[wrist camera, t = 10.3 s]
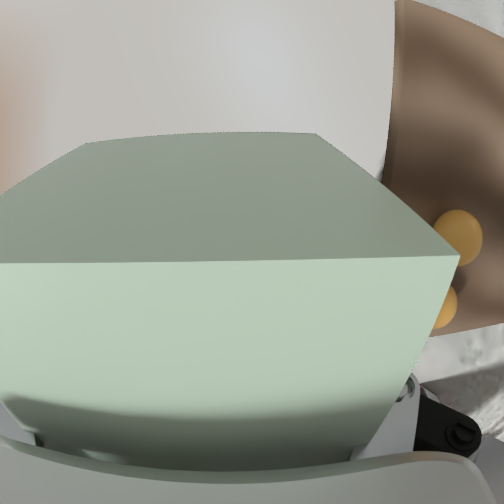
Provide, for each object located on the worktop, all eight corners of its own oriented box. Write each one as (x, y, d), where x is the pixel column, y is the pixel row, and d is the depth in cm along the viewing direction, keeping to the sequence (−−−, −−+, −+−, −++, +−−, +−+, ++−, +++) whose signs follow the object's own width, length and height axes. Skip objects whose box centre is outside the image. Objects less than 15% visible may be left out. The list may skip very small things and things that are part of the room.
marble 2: (428, 198, 15) (459, 224, 12) (468, 201, 15) (500, 225, 13) (416, 248, 17) (442, 279, 14) (455, 248, 17) (482, 276, 14)
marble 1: (410, 269, 17) (433, 301, 15) (449, 267, 17) (473, 296, 15) (397, 309, 19) (416, 342, 16) (434, 305, 19) (455, 336, 16)
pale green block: (85, 143, 9) (-82, 263, 3) (315, 133, 9) (460, 254, 3) (143, 380, 14) (120, 514, 8) (289, 380, 15) (311, 518, 8)
